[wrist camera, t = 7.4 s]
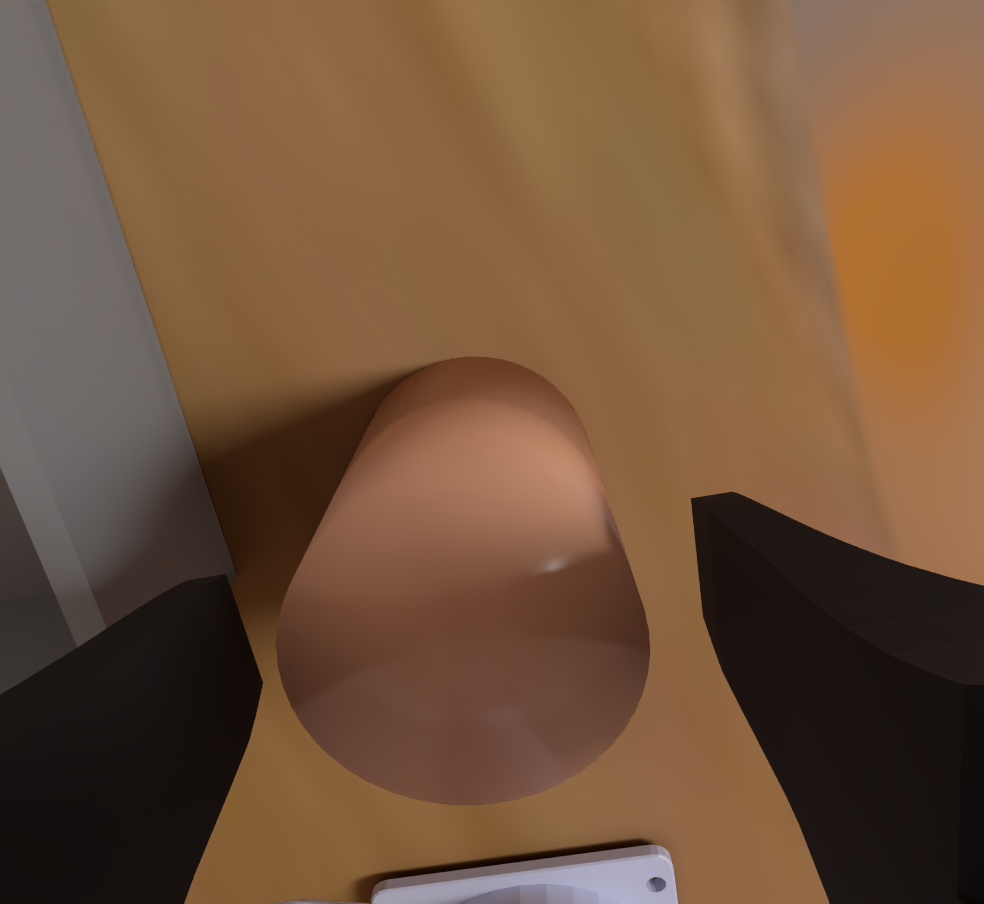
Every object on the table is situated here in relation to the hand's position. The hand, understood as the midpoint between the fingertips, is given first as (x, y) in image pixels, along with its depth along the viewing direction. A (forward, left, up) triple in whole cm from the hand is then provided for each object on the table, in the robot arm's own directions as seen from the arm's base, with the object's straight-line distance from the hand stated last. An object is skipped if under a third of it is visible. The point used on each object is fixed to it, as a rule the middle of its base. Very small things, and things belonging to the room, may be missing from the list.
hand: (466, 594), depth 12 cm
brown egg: (0, 0, -6) cm, 6 cm away
